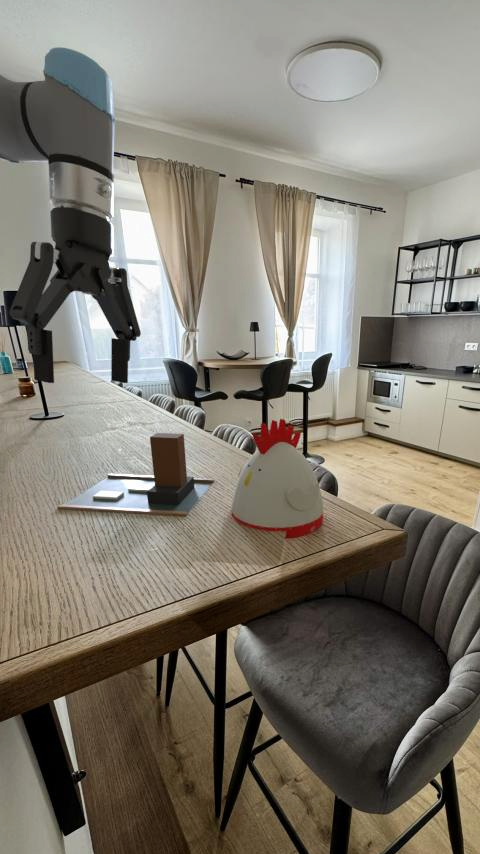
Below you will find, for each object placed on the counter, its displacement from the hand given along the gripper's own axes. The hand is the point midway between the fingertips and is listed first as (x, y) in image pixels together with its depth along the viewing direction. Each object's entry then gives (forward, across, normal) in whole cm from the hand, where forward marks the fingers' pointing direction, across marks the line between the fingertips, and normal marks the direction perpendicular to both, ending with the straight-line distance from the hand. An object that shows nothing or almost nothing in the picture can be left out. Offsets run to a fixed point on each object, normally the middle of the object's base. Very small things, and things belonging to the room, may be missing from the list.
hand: (85, 382), depth 61 cm
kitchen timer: (+16, +8, -30) cm, 35 cm away
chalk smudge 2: (+17, +7, -6) cm, 19 cm away
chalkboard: (+18, +5, -7) cm, 20 cm away
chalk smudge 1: (+18, +2, -3) cm, 18 cm away
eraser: (+16, +6, -12) cm, 21 cm away
